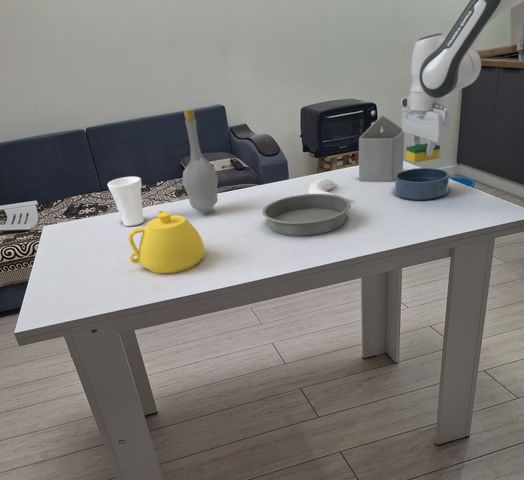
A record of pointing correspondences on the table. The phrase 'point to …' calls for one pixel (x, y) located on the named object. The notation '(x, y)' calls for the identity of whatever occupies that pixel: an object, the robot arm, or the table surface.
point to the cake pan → (306, 214)
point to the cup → (128, 199)
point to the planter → (381, 151)
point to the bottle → (199, 172)
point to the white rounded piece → (321, 187)
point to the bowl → (421, 183)
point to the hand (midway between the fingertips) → (422, 153)
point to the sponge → (421, 153)
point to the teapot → (167, 244)
